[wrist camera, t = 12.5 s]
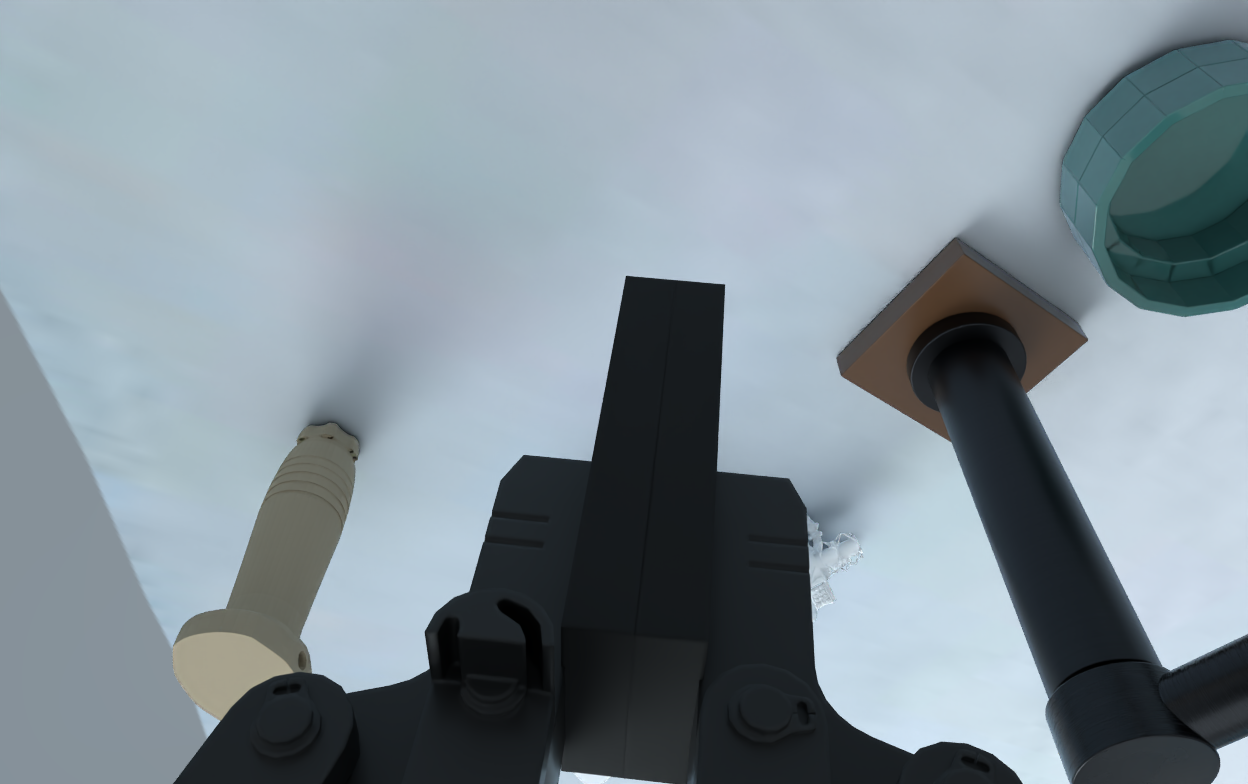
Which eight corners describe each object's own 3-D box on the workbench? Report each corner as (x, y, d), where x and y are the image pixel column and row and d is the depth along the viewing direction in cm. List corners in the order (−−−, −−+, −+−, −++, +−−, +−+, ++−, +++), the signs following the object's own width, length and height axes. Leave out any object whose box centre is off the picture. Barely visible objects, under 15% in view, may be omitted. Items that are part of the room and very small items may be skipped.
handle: (353, 388, 50) (265, 625, 38) (394, 482, 54) (325, 724, 42) (262, 401, 51) (148, 639, 39) (309, 493, 55) (217, 735, 43)
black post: (955, 236, 45) (1128, 575, 29) (1078, 322, 47) (1297, 675, 32) (835, 357, 49) (929, 713, 33) (954, 429, 52) (1094, 790, 36)
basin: (1205, -15, 38) (1263, 23, 35) (1360, 127, 41) (1428, 175, 38) (1006, 185, 43) (1039, 236, 40) (1158, 297, 47) (1201, 354, 43)
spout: (993, 514, 43) (1118, 830, 32) (935, 462, 41) (1044, 777, 30) (1366, 291, 36) (1692, 593, 25) (1314, 217, 34) (1640, 506, 23)
